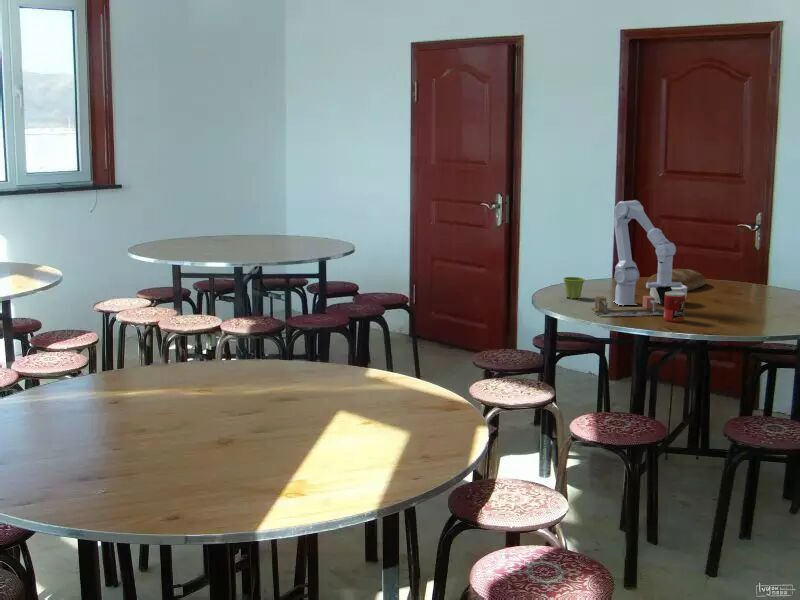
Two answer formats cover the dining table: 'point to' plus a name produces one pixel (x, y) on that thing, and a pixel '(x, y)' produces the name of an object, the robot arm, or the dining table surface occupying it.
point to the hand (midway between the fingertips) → (663, 305)
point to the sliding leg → (649, 302)
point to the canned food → (674, 306)
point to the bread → (684, 278)
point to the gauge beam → (602, 307)
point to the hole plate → (632, 313)
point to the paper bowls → (684, 289)
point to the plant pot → (573, 286)
